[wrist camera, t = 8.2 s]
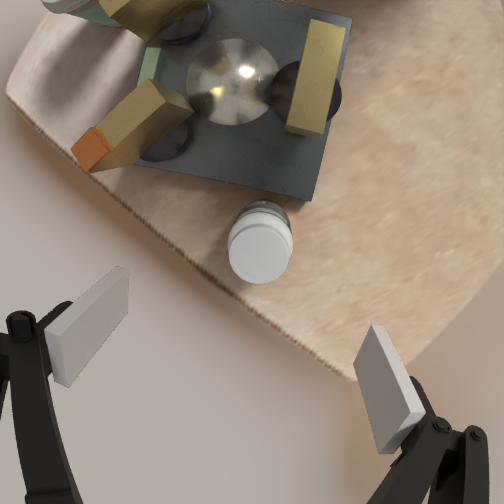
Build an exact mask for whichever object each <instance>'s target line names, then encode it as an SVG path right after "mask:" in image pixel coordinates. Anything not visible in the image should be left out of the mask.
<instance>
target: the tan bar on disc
mask: <svg viewBox="0 0 504 504" xmlns="http://www.w3.org/2000/svg"><path fill="white" fill-rule="evenodd" d="M194 113H195V111H194V110H193V109H192V107H191V106H190V105H189V104H188V102H187V101H186V100H185V98H184V97H183V96H182V94H181V93H179V92H177V91H175V90H173V89H171V88H169V87H167V86H165V85H163V84H160V83H158V82H156V81H154V80H152V79H150V78H147V79H146V80H144V81H143V82H142V83H141V84H140V85H139V86H137V87H136V88H135V89H134V90H133V91H132V92H131V93H130V94H129V95H127V96H126V97H125V98H124V99H123V100H122V101H121V102H120V103H119V104H118V105H117V106H116V107H115V108H114V109H113V110H112V111H110V112H109V113H108V114H107V115H106V116H105V117H104V118H103V119H102V120H101V121H100V122H99V123H98V124H97V126H96V127H95V128H94V127H90V128H89V129H88V130H87V131H86V133H85V134H84V135H83V136H82V137H81V138H80V139H79V140H78V141H77V142H76V144H75V145H74V146H73V147H72V148H71V151H72V152H73V154H74V156H75V157H76V159H77V160H78V162H79V163H80V165H81V166H82V168H83V169H84V171H85V172H86V173H88V174H90V173H95V172H99V171H104V170H109V169H114V168H119V167H124V166H129V165H133V164H134V163H135V162H136V161H137V160H138V159H139V158H140V159H142V160H144V161H147V162H161V161H167V160H171V159H173V158H175V157H177V156H178V155H180V154H181V153H182V152H183V151H184V150H185V149H186V148H187V146H188V144H189V142H190V140H191V137H192V132H193V124H192V119H191V115H192V114H194Z"/></svg>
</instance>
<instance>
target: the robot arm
mask: <svg viewBox="0 0 504 504" xmlns="http://www.w3.org/2000/svg"><path fill="white" fill-rule="evenodd" d="M128 285H129V269H126V268H122V267H119V266H116V267H115V268H114V269H113V270H111V271H110V272H109V273H108V274H107V275H105V276H104V277H103V278H102V279H101V280H100V281H98V282H97V283H96V284H95V285H94V286H92V287H91V288H90V289H89V290H88V291H87V292H85V293H84V294H83V295H82V296H81V297H80V298H78V299H77V300H76V301H75V302H71V301H66V302H63V303H61V304H59V305H57V306H56V307H55V308H54V309H53V311H50V312H49V313H48V315H46V316H44V317H43V318H42V319H41V320H40V321H39V322H38V323H36V318H35V316H34V315H33V314H32V313H31V312H28V311H15V312H13V313H11V314H10V315H9V316H8V317H7V319H6V324H7V328H8V333H9V334H5V333H0V419H1V413H2V408H3V402H4V399H5V394H6V390H7V386H8V381H10V387H11V401H12V412H13V420H14V427H15V435H16V442H17V448H18V453H19V458H20V464H21V469H22V473H23V478H24V481H25V486H26V490H27V494H26V495H25V503H26V504H83V501H82V499H81V496H80V494H79V491H78V488H77V486H76V483H75V480H74V477H73V474H72V472H71V469H70V466H69V463H68V459H67V456H66V453H65V450H64V446H63V443H62V439H61V435H60V432H59V428H58V424H57V420H56V416H55V412H54V407H53V402H52V397H51V392H50V387H49V382H48V378H47V377H48V376H49V375H50V374H51V372H52V373H53V377H54V381H55V382H57V383H59V384H61V385H63V386H65V387H67V388H69V387H70V386H71V385H72V383H73V382H74V381H75V379H76V378H77V377H78V375H79V374H80V373H81V371H82V370H83V369H84V367H85V366H86V365H87V363H88V362H89V361H90V360H91V358H92V357H93V356H94V354H95V353H96V352H97V351H98V349H99V348H100V347H101V346H102V344H103V343H104V342H105V341H106V339H107V338H108V337H109V336H110V334H111V333H112V332H113V331H114V329H115V328H116V327H117V326H118V324H119V323H120V322H121V321H122V319H123V318H124V317H125V316H126V314H127V313H128V311H127V310H128ZM353 365H354V369H355V372H356V375H357V379H358V382H359V385H360V389H361V392H362V396H363V399H364V403H365V406H366V409H367V413H368V417H369V420H370V424H371V428H372V431H373V435H374V439H375V443H376V447H377V451H378V454H394V452H395V451H396V450H397V449H398V448H399V447H400V446H401V449H402V453H401V454H400V455H399V457H398V458H397V459H396V460H395V461H394V462H393V463H392V464H391V465H390V467H392V468H391V469H390V471H389V472H388V474H387V475H386V477H385V478H384V480H383V481H382V483H381V484H380V485H379V487H378V488H377V490H376V491H375V493H374V494H373V496H372V497H371V498H370V500H369V501H368V502H367V504H422V502H423V500H424V498H425V496H426V494H427V492H428V490H429V487H430V485H431V488H430V493H429V499H428V504H489V457H488V443H487V436H486V434H485V432H484V431H483V430H482V429H481V428H479V427H477V426H474V425H471V426H468V427H467V428H466V430H465V431H464V432H459V431H455V430H452V428H451V425H450V424H449V423H448V422H447V421H446V420H445V419H444V418H441V417H437V416H436V415H435V413H434V411H433V409H432V407H431V405H430V402H429V400H428V398H426V397H427V396H426V394H425V393H424V391H423V388H422V386H421V384H420V383H419V382H418V381H417V380H416V379H415V378H414V377H412V376H408V374H407V371H406V370H405V367H404V365H403V363H402V361H401V359H400V357H399V355H398V353H397V352H396V350H395V348H394V346H393V344H392V342H391V340H390V338H389V336H388V334H387V332H386V330H385V329H384V327H383V326H379V325H373V324H371V326H370V328H369V330H368V333H367V335H366V337H365V339H364V341H363V344H362V346H361V348H360V350H359V352H358V354H357V356H356V359H355V361H354V363H353Z"/></svg>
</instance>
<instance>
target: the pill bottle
mask: <svg viewBox="0 0 504 504" xmlns="http://www.w3.org/2000/svg"><path fill="white" fill-rule="evenodd" d="M227 248H228V253H229V261H230V265H231V267H232V269H233V271H234V272H235V273H236V274H237V275H238V276H239V277H240V278H241V279H243V280H245V281H247V282H249V283H253V284H265V283H269V282H272V281H274V280H276V279H277V278H278V277H280V276H281V275H282V273H283V272H284V271H285V269H286V267H287V265H288V261H289V259H290V257H291V255H292V251H293V237H292V232H291V226H290V221H289V218H288V216H287V214H286V212H285V211H284V210H283V209H282V208H281V207H280V206H279V205H277V204H276V203H273V202H271V201H265V200H260V201H255V202H252V203H250V204H248V205H247V206H245V207H244V208H243V209H242V210H241V212H240V213H239V215H238V217H237V219H236V221H235V223H234V225H233V226H232V228H231V230H230V233H229V236H228V241H227Z"/></svg>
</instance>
